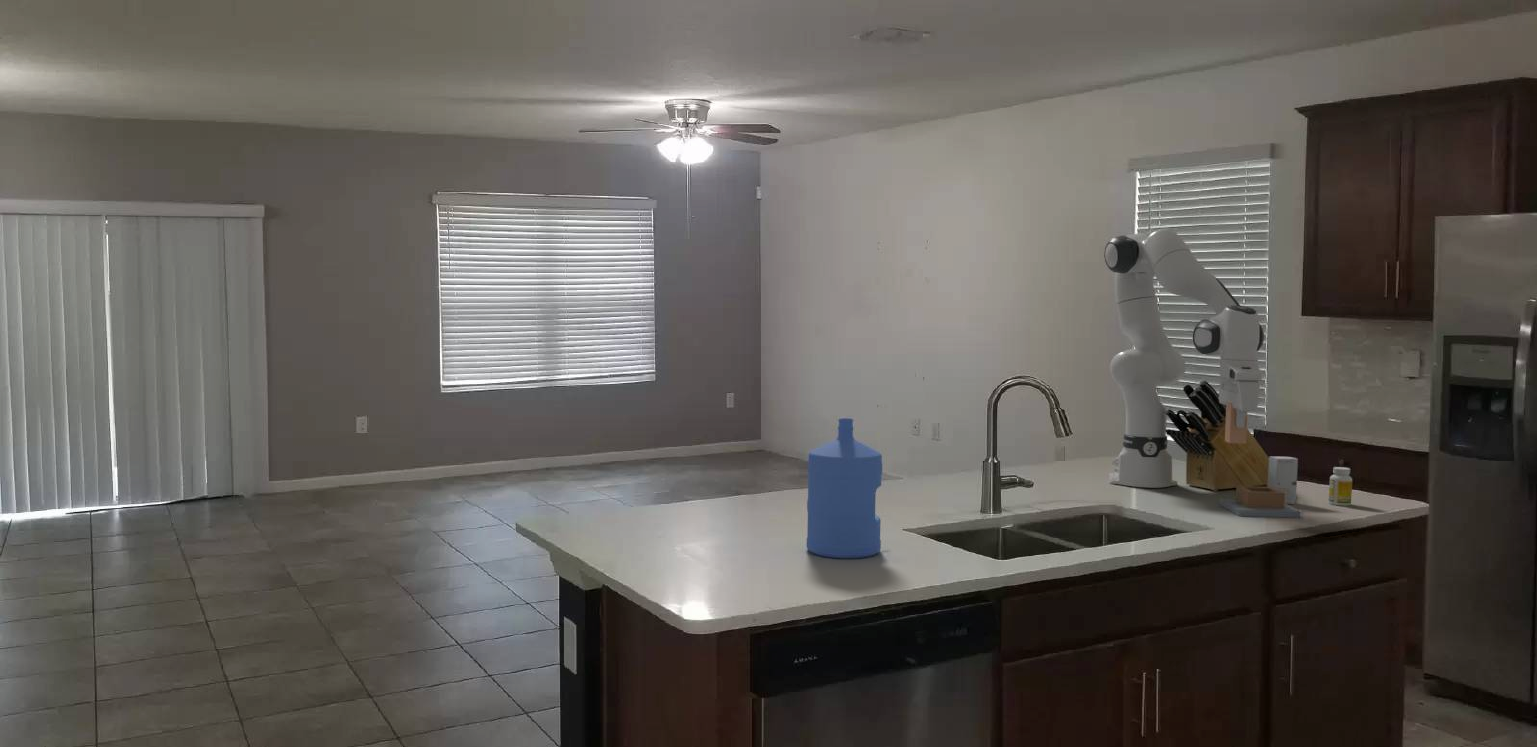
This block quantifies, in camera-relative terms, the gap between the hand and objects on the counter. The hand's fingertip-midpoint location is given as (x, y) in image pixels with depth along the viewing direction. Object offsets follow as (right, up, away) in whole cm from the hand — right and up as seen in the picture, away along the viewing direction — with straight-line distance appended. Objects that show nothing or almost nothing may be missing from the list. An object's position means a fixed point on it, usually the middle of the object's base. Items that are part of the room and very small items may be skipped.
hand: (1236, 425), depth 297 cm
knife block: (+11, -19, +40) cm, 46 cm away
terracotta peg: (0, -4, 0) cm, 4 cm away
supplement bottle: (+33, -22, +15) cm, 42 cm away
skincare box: (+18, -21, +16) cm, 32 cm away
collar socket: (+7, -22, +4) cm, 23 cm away
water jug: (-102, -25, -47) cm, 115 cm away
